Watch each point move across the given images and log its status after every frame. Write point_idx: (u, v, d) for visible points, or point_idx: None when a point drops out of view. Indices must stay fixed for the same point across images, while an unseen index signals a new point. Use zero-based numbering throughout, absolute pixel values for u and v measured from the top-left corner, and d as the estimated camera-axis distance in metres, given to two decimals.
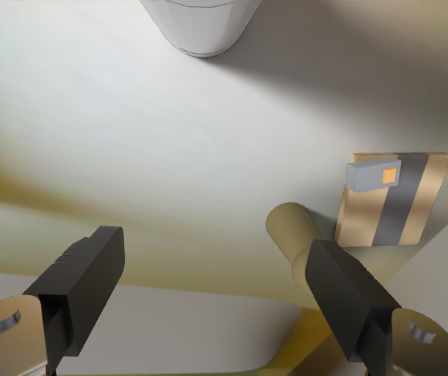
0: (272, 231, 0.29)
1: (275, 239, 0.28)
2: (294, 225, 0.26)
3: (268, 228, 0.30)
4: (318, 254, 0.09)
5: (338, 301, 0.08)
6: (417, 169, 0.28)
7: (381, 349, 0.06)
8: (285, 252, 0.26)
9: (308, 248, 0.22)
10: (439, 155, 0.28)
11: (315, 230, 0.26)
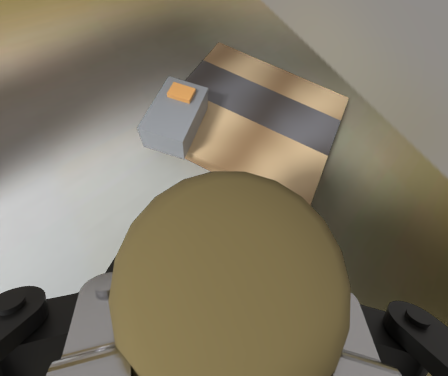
0: None
1: None
2: None
3: None
4: None
5: None
6: (216, 74, 0.20)
7: None
8: None
9: None
10: (211, 52, 0.21)
11: None
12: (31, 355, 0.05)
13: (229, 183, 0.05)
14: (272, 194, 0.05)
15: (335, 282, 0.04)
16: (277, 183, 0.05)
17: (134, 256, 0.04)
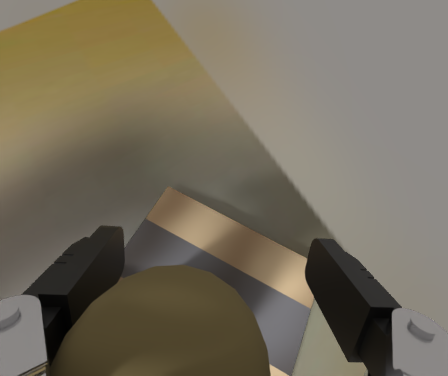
0: None
1: None
2: None
3: None
4: (318, 254, 0.09)
5: (337, 301, 0.08)
6: (159, 241, 0.16)
7: (381, 348, 0.06)
8: None
9: None
10: (157, 204, 0.17)
11: None
12: None
13: (157, 298, 0.05)
14: (198, 308, 0.05)
15: None
16: (207, 290, 0.05)
17: None
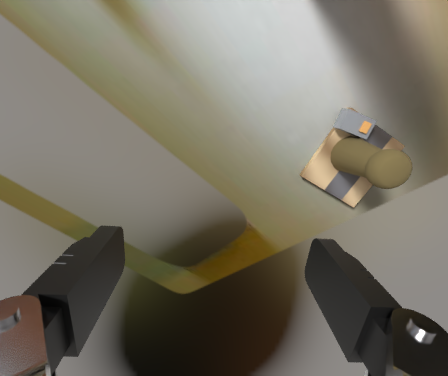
0: (342, 148, 0.36)
1: (344, 153, 0.35)
2: (369, 144, 0.34)
3: (336, 148, 0.37)
4: (318, 254, 0.09)
5: (338, 301, 0.08)
6: (380, 143, 0.38)
7: (381, 349, 0.06)
8: (357, 157, 0.33)
9: None
10: (397, 141, 0.38)
11: None
12: None
13: (410, 171, 0.28)
14: (406, 178, 0.29)
15: (391, 185, 0.29)
16: None
17: (402, 157, 0.28)
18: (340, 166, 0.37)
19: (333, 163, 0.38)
